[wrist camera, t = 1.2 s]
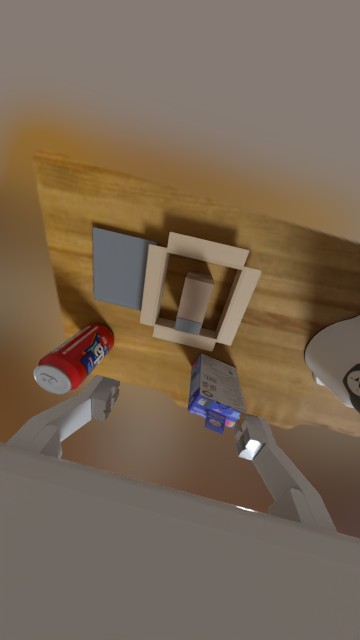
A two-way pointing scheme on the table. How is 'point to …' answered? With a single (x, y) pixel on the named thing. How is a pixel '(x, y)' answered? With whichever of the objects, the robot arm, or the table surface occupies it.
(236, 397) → the ink cartridge box
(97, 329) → the soda can
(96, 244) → the mat
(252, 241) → the table surface
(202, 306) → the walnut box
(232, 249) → the beige hollow square frame
